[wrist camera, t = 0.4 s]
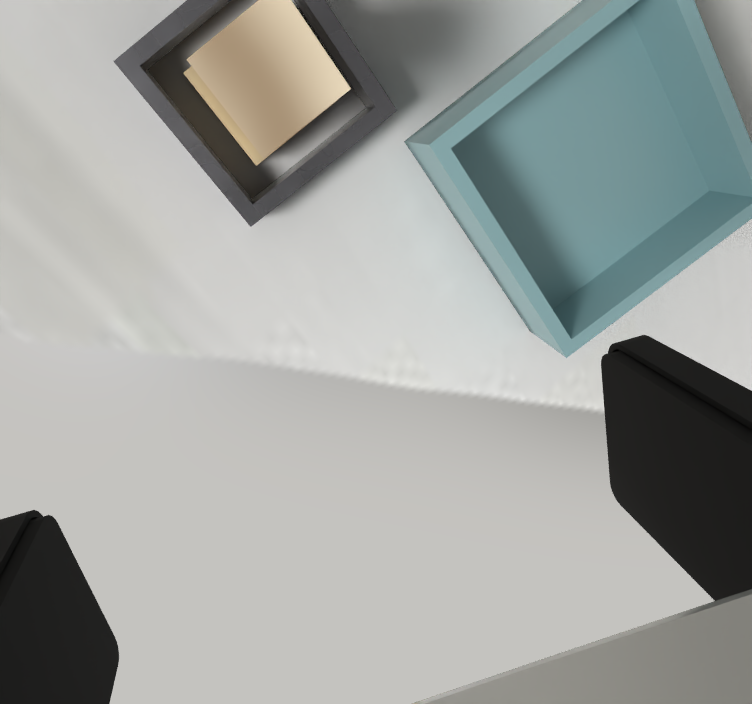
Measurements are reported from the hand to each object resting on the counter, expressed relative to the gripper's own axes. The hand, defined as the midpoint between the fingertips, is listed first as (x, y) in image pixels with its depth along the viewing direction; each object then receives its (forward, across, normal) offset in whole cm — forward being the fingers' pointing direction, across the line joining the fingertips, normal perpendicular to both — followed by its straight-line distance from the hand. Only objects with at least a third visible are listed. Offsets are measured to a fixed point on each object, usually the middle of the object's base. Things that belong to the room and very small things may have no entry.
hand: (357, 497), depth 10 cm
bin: (+27, -18, +1) cm, 32 cm away
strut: (+27, -1, -7) cm, 28 cm away
